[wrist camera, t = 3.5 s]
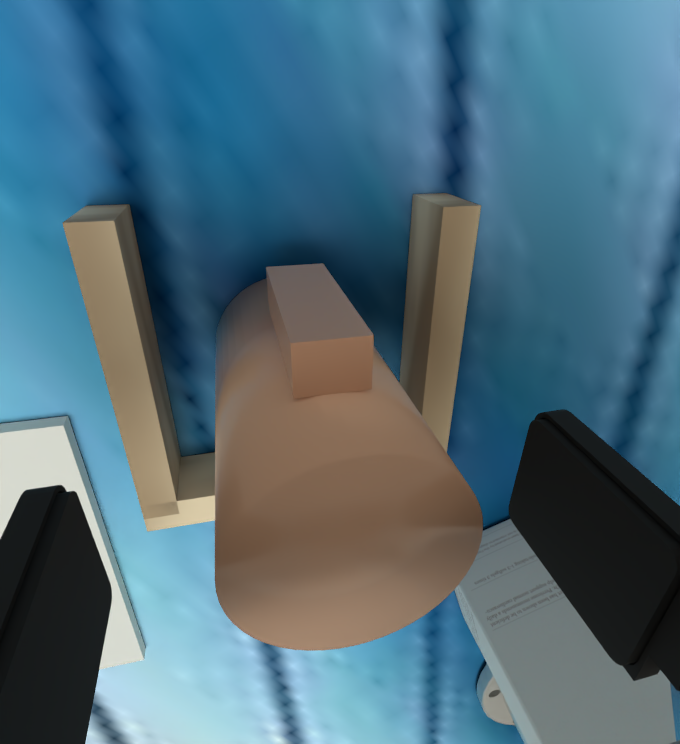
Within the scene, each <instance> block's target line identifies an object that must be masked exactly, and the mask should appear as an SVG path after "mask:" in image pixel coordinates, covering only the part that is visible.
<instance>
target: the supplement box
mask: <svg viewBox="0 0 680 744" xmlns="http://www.w3.org/2000/svg"><path fill="white" fill-rule="evenodd" d="M454 590H455V593H456V596H457V599H458V602H459V605H460V608H461V611H462V614H463V617H464V619H465V621H466V623H467V625H468V627H469V629H470V631H471V633H472V635H473V637H474V639H475V641H476V643H477V645H478V647H479V648H480V650H481V652H482V654H483V656H484V658H485V660H486V662H487V664H488V666H489V668H490V670H491V672H492V674H493V676H494V678H495V680H496V682H497V684H498V686H499V688H500V690H501V692H502V694H503V696H504V698H505V700H506V702H507V704H508V706H509V708H510V710H511V712H512V714H513V716H514V718H515V720H516V722H517V724H518V726H519V728H520V730H521V732H522V734H523V736H524V738H525V740H526V742H527V744H669V743H672V742H675V741H676V735H675V726H674V716H673V706H672V697H671V687H670V681H669V680H668V679H667V677H666V676H665V675H664V674H663V672H662V671H661V670H660V671H659V673H658V674H656V675H653V676H650V677H646V678H643V679H640V680H636V681H633V679H632V678H631V677H630V675H629V674H628V673H627V671H626V670H625V669H624V667H623V666H620V665H618V664H616V663H615V662H614V661H613V660H612V659H611V658H610V657H609V655H608V654H607V653H606V651H605V650H604V649H603V647H602V646H601V644H600V643H599V642H598V640H597V639H596V637H595V636H594V635H593V633H592V632H591V631H590V629H589V628H588V626H587V625H586V624H585V622H584V621H583V619H582V618H581V617H580V615H579V614H578V613H577V611H576V610H575V608H574V607H573V606H572V604H571V603H570V601H569V600H568V599H567V597H566V596H565V595H564V593H563V592H562V590H561V589H560V588H559V586H558V585H557V583H556V582H555V581H554V579H553V578H552V577H551V575H550V574H549V572H548V571H547V570H546V568H545V567H544V566H543V564H542V563H541V561H540V560H539V559H538V557H537V556H536V554H535V553H534V552H533V550H532V549H531V548H530V546H529V545H528V543H527V542H526V541H525V539H524V538H523V536H522V535H521V534H520V532H519V531H518V530H517V528H516V527H515V525H514V524H513V522H512V521H511V519H509V520H506V521H504V522H502V523H500V524H497V525H495V526H493V527H490V528H488V529H486V530H484V531H483V532H482V540H481V543H480V547H479V550H478V553H477V555H476V558H475V560H474V562H473V564H472V566H471V567H470V569H469V571H468V572H467V574H466V575H465V577H464V578H463V579H462V581H461V582H460V583H459V585H458V586H457V587H456V588H455V589H454Z"/></svg>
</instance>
